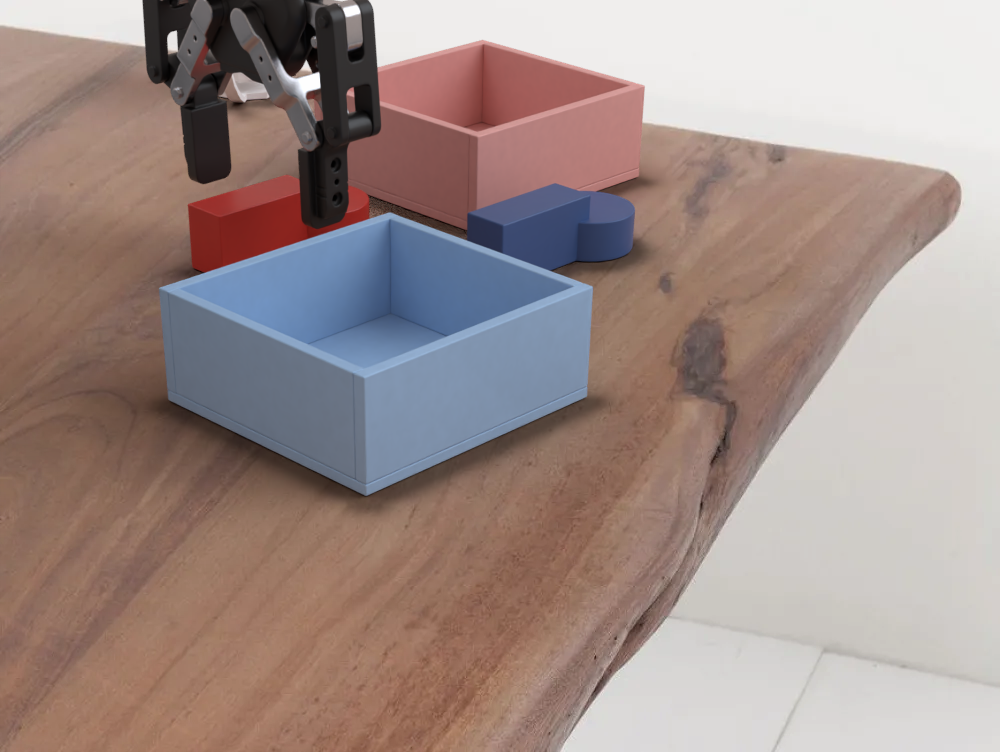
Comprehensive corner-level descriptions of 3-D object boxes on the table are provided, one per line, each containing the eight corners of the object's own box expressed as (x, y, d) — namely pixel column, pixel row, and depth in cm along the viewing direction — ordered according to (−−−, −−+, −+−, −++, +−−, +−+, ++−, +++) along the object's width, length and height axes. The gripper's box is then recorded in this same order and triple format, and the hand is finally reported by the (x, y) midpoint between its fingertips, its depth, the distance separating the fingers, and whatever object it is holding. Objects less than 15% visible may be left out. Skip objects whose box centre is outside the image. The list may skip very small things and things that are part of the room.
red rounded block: (176, 261, 93) (171, 197, 91) (325, 213, 99) (323, 152, 97) (239, 288, 90) (236, 222, 89) (389, 237, 96) (388, 175, 95)
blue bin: (167, 400, 80) (158, 287, 77) (390, 316, 88) (389, 211, 85) (365, 496, 73) (363, 377, 71) (587, 397, 81) (593, 286, 79)
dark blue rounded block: (448, 270, 93) (448, 206, 91) (581, 221, 99) (584, 160, 97) (519, 296, 90) (521, 231, 89) (651, 245, 96) (656, 183, 95)
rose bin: (315, 176, 104) (313, 83, 101) (480, 126, 112) (482, 39, 109) (475, 234, 97) (477, 136, 94) (639, 176, 105) (645, 85, 102)
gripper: (75, -176, 84) (115, 184, 94) (283, -128, 76) (304, 260, 86) (207, -196, 88) (233, 150, 98) (418, -152, 80) (423, 219, 90)
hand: (266, 201), depth 92 cm, fingers open, 8 cm apart
